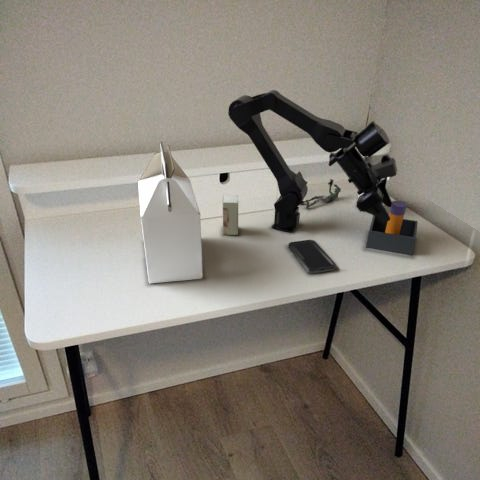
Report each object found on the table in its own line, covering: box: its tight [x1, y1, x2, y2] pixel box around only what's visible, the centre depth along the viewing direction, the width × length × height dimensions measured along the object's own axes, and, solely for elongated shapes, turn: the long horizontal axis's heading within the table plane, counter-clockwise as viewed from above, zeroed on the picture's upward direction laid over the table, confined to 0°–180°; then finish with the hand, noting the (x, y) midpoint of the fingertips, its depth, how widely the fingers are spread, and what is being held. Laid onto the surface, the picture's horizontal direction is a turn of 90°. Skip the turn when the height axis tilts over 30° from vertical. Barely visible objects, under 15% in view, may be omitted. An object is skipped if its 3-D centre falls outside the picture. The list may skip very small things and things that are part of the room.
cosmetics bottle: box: [222, 194, 239, 236], centre depth 132 cm, size 5×4×10 cm
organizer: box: [365, 215, 419, 257], centre depth 129 cm, size 12×11×6 cm
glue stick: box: [385, 200, 408, 235], centre depth 127 cm, size 4×4×12 cm
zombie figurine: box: [299, 178, 342, 210], centre depth 151 cm, size 5×7×15 cm
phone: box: [287, 239, 337, 274], centre depth 124 cm, size 8×1×15 cm
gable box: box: [137, 141, 204, 284], centre depth 114 cm, size 22×13×28 cm, turn 11°
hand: (390, 213), depth 126 cm, fingers open, 9 cm apart
